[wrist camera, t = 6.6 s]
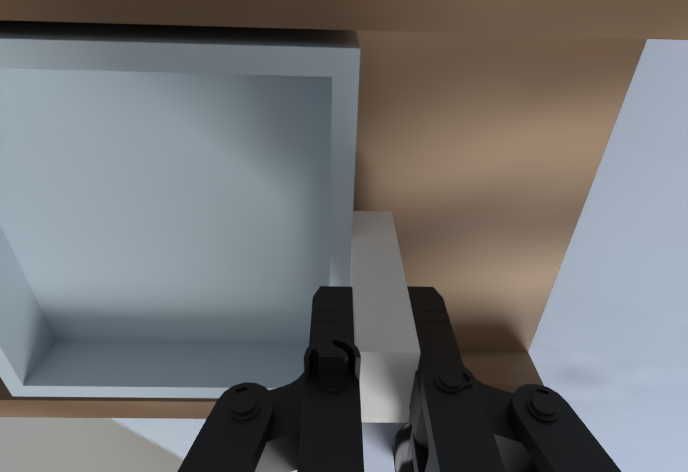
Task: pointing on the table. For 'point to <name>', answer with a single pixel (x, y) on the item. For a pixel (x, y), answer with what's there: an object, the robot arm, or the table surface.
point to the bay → (443, 146)
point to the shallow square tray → (169, 203)
